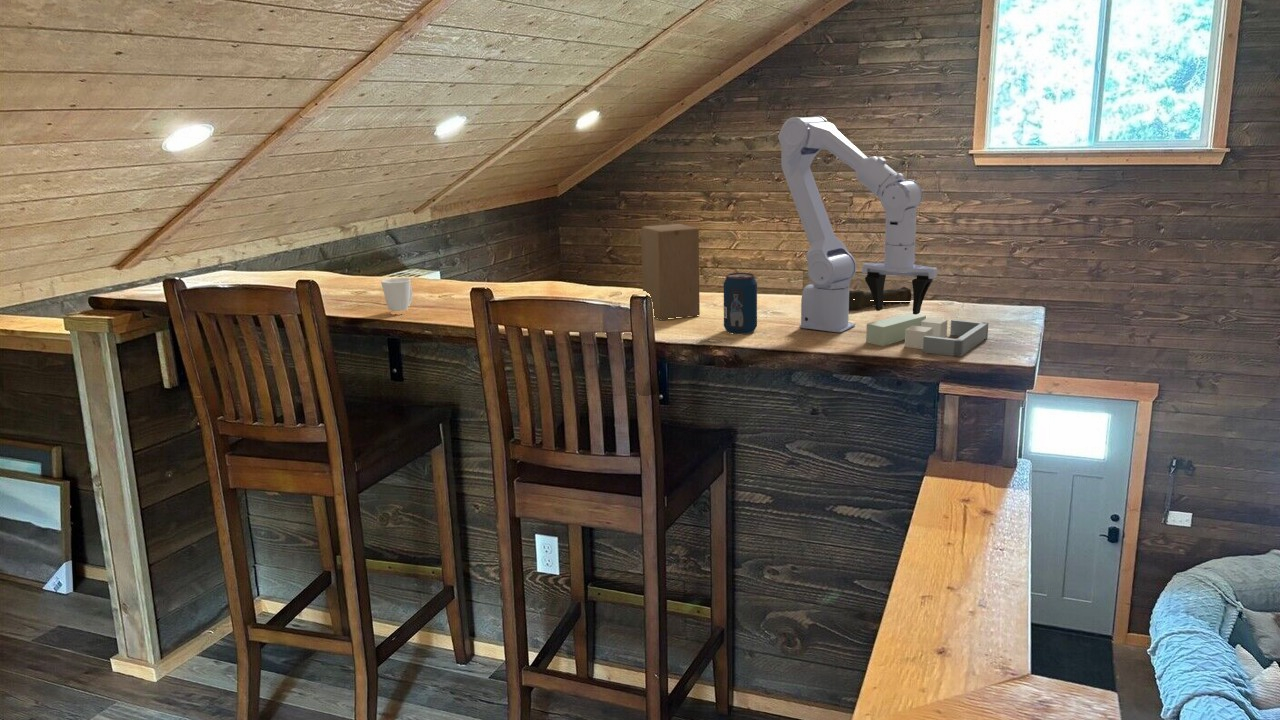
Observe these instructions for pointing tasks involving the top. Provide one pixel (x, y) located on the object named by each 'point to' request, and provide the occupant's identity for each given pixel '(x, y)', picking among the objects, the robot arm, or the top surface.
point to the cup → (397, 293)
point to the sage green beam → (891, 328)
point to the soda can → (740, 303)
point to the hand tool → (864, 299)
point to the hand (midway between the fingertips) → (897, 311)
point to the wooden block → (671, 269)
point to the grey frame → (969, 339)
